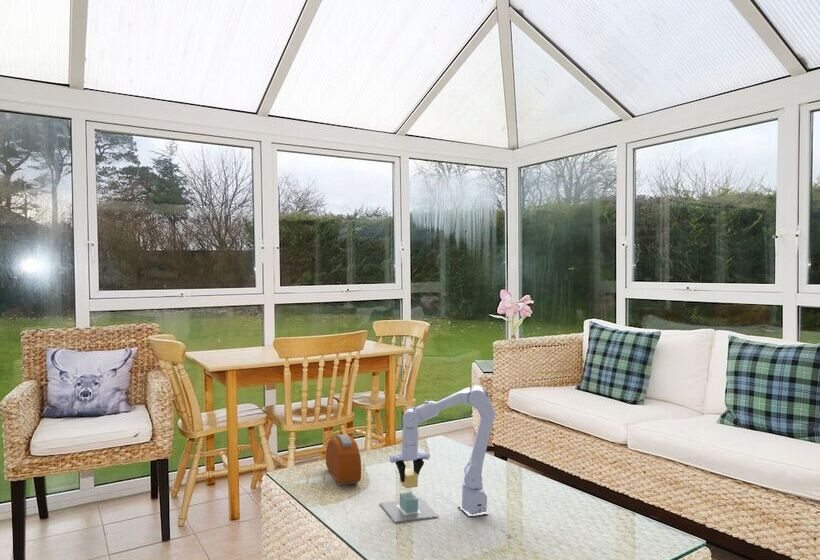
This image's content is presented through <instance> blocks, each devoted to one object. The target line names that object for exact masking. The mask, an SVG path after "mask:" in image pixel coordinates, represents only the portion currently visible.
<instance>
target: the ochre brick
mask: <svg viewBox="0 0 820 560" xmlns="http://www.w3.org/2000/svg"><path fill="white" fill-rule="evenodd" d="M399 482H400V484H401V485H402V486H403V487H404V488H405V489H411V488H412V489H413V488H418V486H419V485H418V483H419V475H418V474H417V473H416V472H415V471H414V468H405V479H404V482H402V481H401V480H400V479H399Z"/></svg>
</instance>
